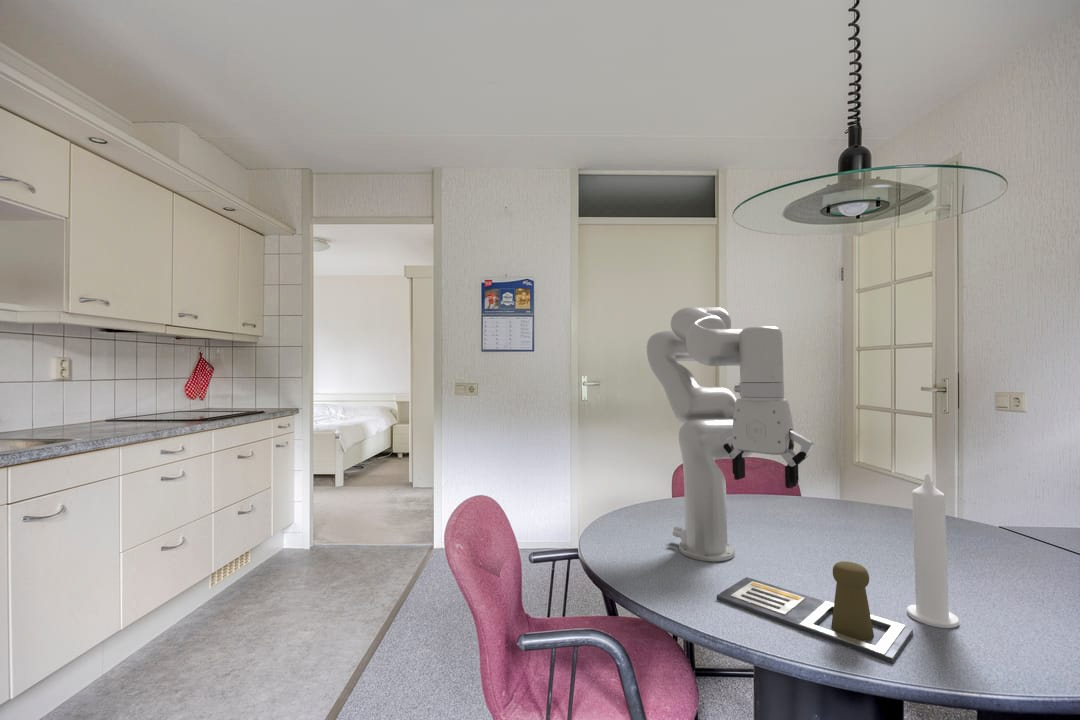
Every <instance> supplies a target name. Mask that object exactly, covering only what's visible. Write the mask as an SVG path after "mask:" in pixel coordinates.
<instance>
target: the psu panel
mask: <svg viewBox="0 0 1080 720" xmlns="http://www.w3.org/2000/svg"><path fill="white" fill-rule="evenodd" d="M716 601H720V602H721V603H726V604H728V605H731V606H733V607H736V608H738V609H742V610H745V611H747V612H749V613H753V614H756V615H758V616H760V617H764V618H766V619H769V620H772V621H774V622H778V623H780V624H783V625H786V626H789V627H791V628H794V629H796V630H798V631H802V632H805V633H807V634H809V635H810V634H811V635H812V636H815V637H818V638H821V639H824V640H827V641H829V642H832V643H835V644H837V645H841V646H843V647H846V648H848V649H851V650H854V651H857V652H859V653H862V654H865V655H868V656H870V657H873V658H876V659H879V660H882V661H885V662H887V663H890V664H894V662H895V661H896V659H897V658H898V656H899V655H900V654H901V652H902V651H903V650H904V648H905V646H906V645H907V644H908V642H909V641H910V639H911V637H912V636H913V634H914V628H912V627H908V626H906V624H902V623H899V622H896V621H892V620H889V619H886V618H883V617H881V616H876V615H874V614H871V613H870V616H871V622H872V626H875V627H878V628H880V629H884V630H886V632H884V634H883V636H882V638H881V639H880V640H879V641H878V642H877V643H876V645H874V644H870V643H869V642H866V641H860V640H857V639H854V638H851V637H848V636H846V635H843V634H840V633H837V632H835V631H834V630H831V629H829V628H825V627H822V626H821V625H820V624H821V623H822V622H823V621H824V620H825V619H826V618H828V616H829V615H830V614H832V613H833V609H834V602H831V601H828V600H821V599H818V598H815V597H811V596H809V595H806V594H802V593H798V592H796V591H792V590H789V589H786V588H783V587H780V586H777V585H774V584H770V583H768V582H767V583H766V582H763V581H762V580H761V581H760V580H758V579H754V578H751V577H748V576H745V577H744V578H743V579H741V580H740V581H738V582H736V583H735V584H733V585H731V586H730V587H728V588H727V589H724V590H723V591H721V592H720V593H719V594H716Z"/></svg>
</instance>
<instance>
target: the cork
mask: <svg viewBox="0 0 1080 720" xmlns="http://www.w3.org/2000/svg"><path fill="white" fill-rule="evenodd" d="M832 576H833V580H835V582H836V585H835V593H834V594H835V595H834V601H833V603H834V609H833V612H832V618H831V624H830V626H831V629H832V631H834V632H837V633H840V634H843V635H846V636H848V637H851V638H854V639H857V640H860V641H863V642H866V641H871V640H873V639H874V638H875V634H874V628H873V625H872V622H871V616H870V614H871V612H870V606H869V601H868V600H869V599H868V596H867V595H868V594H867V589H866V588H867V586H868V585H869V582H870V574H869V572H868V569H866V568H865V566H863V565H861V564H859V563H856V562H852V561H838V562H836V563H835V564H834V565H833V566H832Z"/></svg>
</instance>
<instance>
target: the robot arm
mask: <svg viewBox="0 0 1080 720" xmlns="http://www.w3.org/2000/svg"><path fill="white" fill-rule="evenodd" d="M670 328H671V330H664V331H663V330H662V331H659V332H655V333H654V334H652V335H651V336H650V337H648V340H647V344H646V355H647V360H648V364H649V368H650V369H651V371H652V372H653V373H652V374H654V375H655V377H656V379H657V380H658V381H659V382H660V384H661V386H662V387H663V389H664V392H665V395H666V397H667V400H668V402H669V405H670V407H671V410H672V412H673V414H674V416H675V419H677V420H678V422H680V423H681V424H682V426H681V427H680V428H679V431H678V442H679V447H680V448H679V449H680V453H681V459H682V467H683V469H682V470H683V484H684V485H683V487H684V490H683V491H684V527H682V526H679V525H675V526H674V527H673V531H672V536H673V537H675V538H680V540H681V542H680V543H679V544H678V549H679V552H680V553H681V554H682V555H683V556H685V557H688V558H691V559H694V560H698V561H703V562H704V561H705V562H723V561H729V560H731V559H732V558H734V556H735V555H736V553H735V548H734V547H733V546H732V545H731V544H729V543H728V514H727V510H728V509H727V485H726V484H727V483H726V478H725V475H724V473H723V471H722V470H721V468H720V467H719V466H718V464H717V463H716V461H715V460H722V459H723V460H726V459H731V460H732V461H731V462H732V474H733V479H734V480H736V481H739V480H741V479H744V478H746V457H749V456H751V455H752V454H754V453H755V454H764V455H771V456H772V455H773V456H779V455H780V456H781V457H782V459H784V461H785V462H786V463H787V465H785V466H784V480H785V481H784V482H785V485H784V486H785V488H786V489H792V488H795V487H796V486H797V484H798V483H799V465H800V464H801V463H802V462H803V461H804V460H805V459H807V457H809V454H810V452H811V450H812V449H813V448H814V442H813V441H811V440H810V439H808V438H806V437H804V436H802V435H801V434H799V433H798V432H796V431H794V423H793V416H792V411H791V407H790V403H789V401H788V399H785V382H784V347H783V346H784V345H783V332H782V330H781V328H779V327H778V326H773V325H772V326H771V325H769V326H768V325H766V326H765V325H762V326H749V327H745V328H732V320H731V316H730V314H729V312H728V311H727V310H725V309H724V308H722V307H718V306H688V307H682V308H680V309H678V310H677V311H675V313H674V314H673V315H672V317H671V320H670ZM679 362H698V363H700V364H702V365H704V366H708V367H723V366H724V367H728V366H729V367H730V366H737V367H739V380H740V382H739V384H738V385H734V387H733V390H734V392H735V393H738V394H739V397H740V398H737V397H736V395H735V394H734V393H733V392H732V391H731V390H730V389H728V388H726V387H721V386H701V385H699V383H698V381H697V379H696V378H695V375H694V374H693V373H692V371H690V370H689V369H688V368H686V367H685V366H684V365H682V364H681V363H679ZM795 443H796V444H799V445H800V451H799V452H797V453H795V451H794V449H795Z"/></svg>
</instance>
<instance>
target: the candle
mask: <svg viewBox="0 0 1080 720" xmlns="http://www.w3.org/2000/svg"><path fill="white" fill-rule="evenodd" d="M924 476H925V477H924V478H923V482H922V484H921V485H919V486H918V487H916V488H914V489H912V492H911V499H912V501H911V502H912V505H911V506H912V527H913V529H912V532H913V534H912V535H913V559H914V560H913V563H914V588H915V590H914V591H915V592H914V593H915V603H914V604H910V605H908V606H907V607H906V612H907V614H908V616H909V617H910V618H912V619H913V620H914V621H915V620H916V621H917V622H918V623H922V624H924V625H926V626H931V627H934V628H939V629H940V628H941V629H953V628H956V627H957V628H958V626H959V625H960V619H959V618H958V616H957V615H955V614H954V613H953V612H951V611H950V608H949V607H950V606H949V604H950V603H949V582H948V580H949V579H948V578H949V577H948V552H947V551H948V550H947V549H948V548H947V546H948V545H947V522H946V521H947V520H946V519H947V518H946V516H947V515H946V496H945V493H944V492H942V491H941V490H939V489H938V488H936V486H934V484H933V482H932V478H931V475H930V473H925V475H924Z"/></svg>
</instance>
